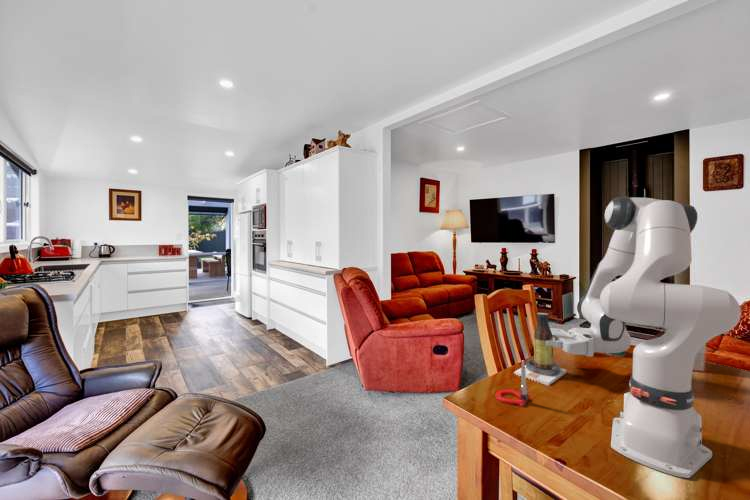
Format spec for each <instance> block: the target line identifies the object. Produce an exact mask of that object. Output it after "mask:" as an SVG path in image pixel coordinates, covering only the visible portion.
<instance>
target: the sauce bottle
mask: <svg viewBox="0 0 750 500" xmlns="http://www.w3.org/2000/svg"><path fill="white" fill-rule="evenodd" d="M549 319H550V314H549V313H545V312H537V313H536V320H537V321H536V322H537V323H536V328H535V329H534V331H533V333H534V336H533V337H534V338H533V347H534V348H533V353H534V358H533V359H534V361H535V366H536V367H538V368H543V369H552V368H553V362H554V347H553V346H547V345H545V340H551V341H553V335H552V333H551V330H550V328H551V327H550V326H549Z"/></svg>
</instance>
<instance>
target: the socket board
mask: <svg viewBox="0 0 750 500" xmlns="http://www.w3.org/2000/svg"><path fill="white" fill-rule="evenodd" d="M525 372H526V379H527V378H528V379H527V380H530V379H531V380H530V381H533V380H534V381H533V382H536V381H537V383H539V382H540V384H543V385H545V386H550V385H551V384H553V383H554V382H556V381H557V380H559V379H560V378H561V377H562V376H564V375H565V374H567V369H564V368H561V367H560V365H559V364H558V363H557V362H554V361H553V368H552V369H543V368H538V367H536V366H535V361H534V358H528V359H527V360H526V363H525ZM514 374H516V375H515V376H517V375H518V377H520V376H521V367H520V368H518V369H516V370H515V371H514V372H513V375H514Z"/></svg>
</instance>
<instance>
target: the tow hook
mask: <svg viewBox="0 0 750 500" xmlns="http://www.w3.org/2000/svg"><path fill="white" fill-rule="evenodd" d="M525 365H526V363H525V360H524V359H523V360H521V367H520V368H521V378H520V379H521V385H520V392H519V391H516V390H512V389H499V390H498V391H496V392H495V398H496V399H497V400H498V401H500V402H502V403H504V404H505V403H506V404H511V405H518V406H520V407H524V406H525V405H526V404H527V403H528V401H529V400H530V398H531V396H530V394H529V393H528V388H527V387H528V386H527V381H526V379H527V378H526V372H525ZM502 395H514V396H515V397H518V398H519V399H518V398H515V399H509V398H507V397H503V396H502Z"/></svg>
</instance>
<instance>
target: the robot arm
mask: <svg viewBox="0 0 750 500" xmlns="http://www.w3.org/2000/svg"><path fill="white" fill-rule="evenodd" d="M605 208H606V209H605V211H604V223H605V224H606V226H607V227H608V228H610V229H612V230H614V232H613V234H612V235H611V238H610V242H609V244H608V247H607V251H606V253H605V255H604V257H603V258H602V259H601V260H600V261H599V262H598V264H597V265H596V268H595V270H594V272H593V273H592V274H593V275H592V277H591V279H590V281H589V284H588V285H587V288H586V291H585V293H584V294H583V295H582V297H581V298H580V299H579V300H578V302H577V305H576V311H577V313H578V315H579V316H580V317H581V318H582V319H584V320H586V321H587V322H588V323H590V327H572V328H571V330H570V331H567V330H565V329H562V328H557V327H556V328H555V327H554V328H553V327H550V330H551V333H552V335H553V341H551V340H545V345H547V346H553V348H560V350H562V351H564V353H566V354H569V355H573V356H575V355H577V356H586V357H588V358H589V357H594V353H601V354H605V353H618V352H623V351H625V352H626V351H627V350H629V349H630V347H631V343H632V339H631V335H630V334H629V332H628V331H627V327H626V326H627V324H630V325H637V326H638V325H639V326H647V327H655V328H662V329H665V332H664V334H662V335H661V336H659V337H656V338H652V339H651V338H650V339H647V340H644V341H641V342H639V343H638V344H636V345H635V347H634V348H633V351H632V374H631V375H630V379H629V382H628V385H629V387H628V388H629V389H628V392H626V393H623V394H624V395H623V411H619V415H618V416H619V417H614V418H613V420H612V426H611V427H612V428H611V437H610V438H611V440H610V447H611V448H612V449H613V450H614V451H616V452H617V453H619V454H621V455H622V456H623V457H626V458H628V459H630V460H632V461H633V462H636V463H638V464H641V465H644V466H646V467H648V468H652V469H654V470H657V471H659V472H661V473H665V474H668V475H671V476H675V477H679V478H685V479H689V478H692V477H693V475H695V474H696V473H697V472H698V471H699V470H700V469H702V467H703V466H704V465H705V464H706V463H707V462H708V461H709V460H710V459H712V458H713V451H712V450H711V449H709V448H708V447H707V446H705V445H704V444H702V443H703V442H702V438H703V436H702V430H703V429H702V428H703V426H702V416H701V415H700V414H699V413H698V412H697V410H695V409H694V407H693V406H694V400H695V394H694V388H692V380H693V379H692V376H693V371H694V370H693V364H694V360H695V357H696V355H697V353H698V351H699V350H700V349H701V347H702V346H703V345H704V344H705V343H706V344H707V342H709V341H711V340H712V339H713V338H715V337H718V336H720V335H723V334H725V333H728V332H729V331H731V330H733V329H734V328H735V327H736V326H737V325H738V323H739V321H740V319H741V316H742V310H741V306H740V304H739V302H738V300H737V299H736V298H735V297H734V295H732V294H731V293H730V292H729V291H727V290H724V289H718V288H716V287H715V288H714V287H711V286H710V287H709V286H704V285H697V284H696V285H695V284H682V283H681V284H680V283H667V282H661V280H664V279H665V278H666V279H667V278H669V277H672V276H673V277H674V276H676V275H678V274H681V273H682V272H684V271H685V270H687V269H688V268H689V267H690V265H691V263H692V260H693V258H692V257H693V256H692V242H691V241H692V240H691V239H692V238H691V237H692V236H691V233H692V232H693V231H694V229H695V228H696V225H697V222H698V217H699V216H698V211H697V209H696V208H695V207H694V206H693V205H690V204H689V203H684V202H677V201H673V200H669V199H668V200H667V199H663V200H662V199H655V198H654V197H653V198H651V197H629V196H617V197H616V196H615V198H613V199H611V200H610V201H609V203H608V205H607V206H606V207H605ZM618 276H619V277H618ZM616 277H618V278H617V279H616V280H614V279H615V278H616Z"/></svg>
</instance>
